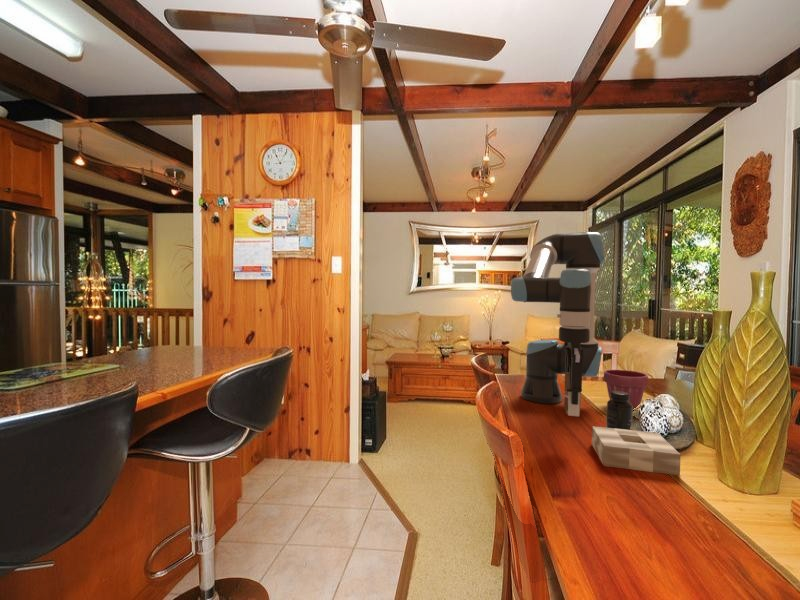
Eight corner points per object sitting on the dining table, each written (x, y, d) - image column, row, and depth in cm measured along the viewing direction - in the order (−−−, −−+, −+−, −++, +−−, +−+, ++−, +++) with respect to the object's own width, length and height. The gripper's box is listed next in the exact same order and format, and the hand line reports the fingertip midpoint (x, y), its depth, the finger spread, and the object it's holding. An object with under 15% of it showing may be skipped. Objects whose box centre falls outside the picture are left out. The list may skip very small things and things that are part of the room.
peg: (562, 410, 106) (563, 371, 105) (579, 411, 105) (580, 372, 104) (564, 415, 102) (565, 374, 101) (581, 417, 101) (582, 376, 100)
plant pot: (602, 399, 151) (603, 367, 151) (644, 404, 145) (645, 371, 144) (603, 409, 138) (604, 374, 138) (649, 415, 132) (650, 378, 132)
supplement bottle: (635, 436, 112) (637, 396, 112) (610, 434, 113) (611, 394, 113) (626, 428, 119) (627, 390, 118) (603, 426, 120) (604, 389, 120)
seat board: (591, 443, 106) (592, 426, 106) (657, 451, 102) (657, 432, 102) (603, 465, 93) (604, 445, 93) (679, 475, 88) (680, 454, 88)
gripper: (555, 323, 112) (553, 401, 113) (563, 330, 95) (561, 422, 96) (583, 324, 110) (581, 404, 111) (596, 331, 93) (594, 425, 94)
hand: (572, 412), depth 103 cm, fingers closed on peg, 4 cm apart
